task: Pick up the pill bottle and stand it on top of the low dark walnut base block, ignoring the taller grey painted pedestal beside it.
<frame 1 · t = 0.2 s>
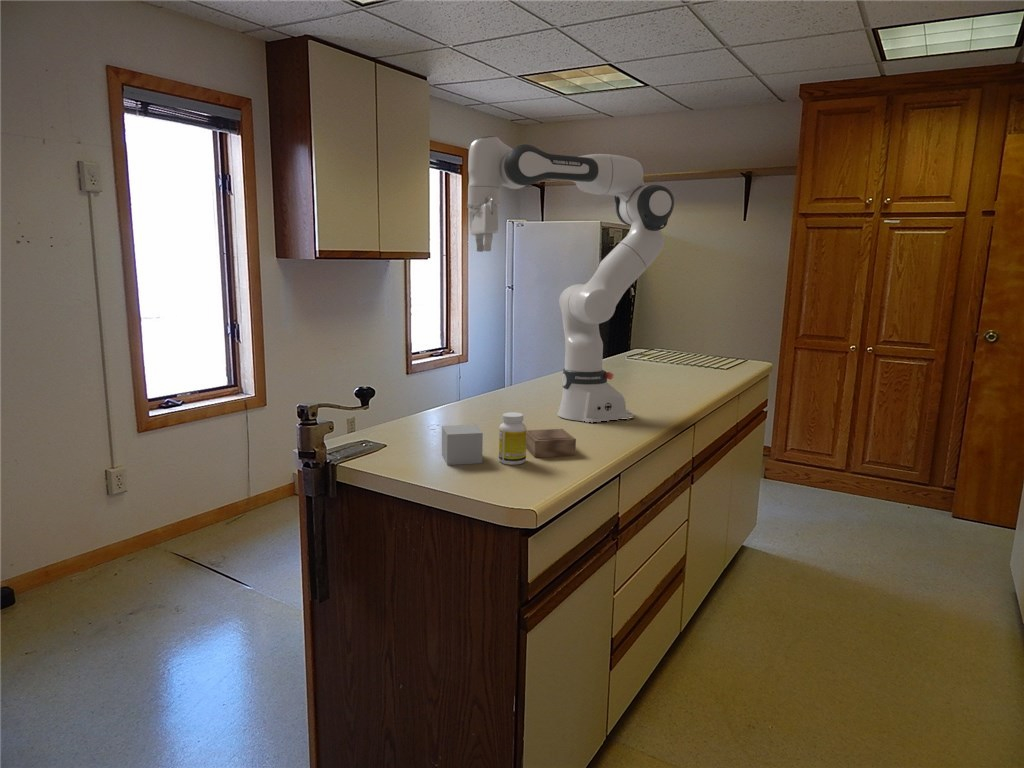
hand: (483, 251, 182), 48 cm above the counter, fingers open, 8 cm apart
walnut base: (548, 450, 160), on the counter
grey pedestal: (461, 458, 152), on the counter
pill bottle: (512, 462, 151), on the counter
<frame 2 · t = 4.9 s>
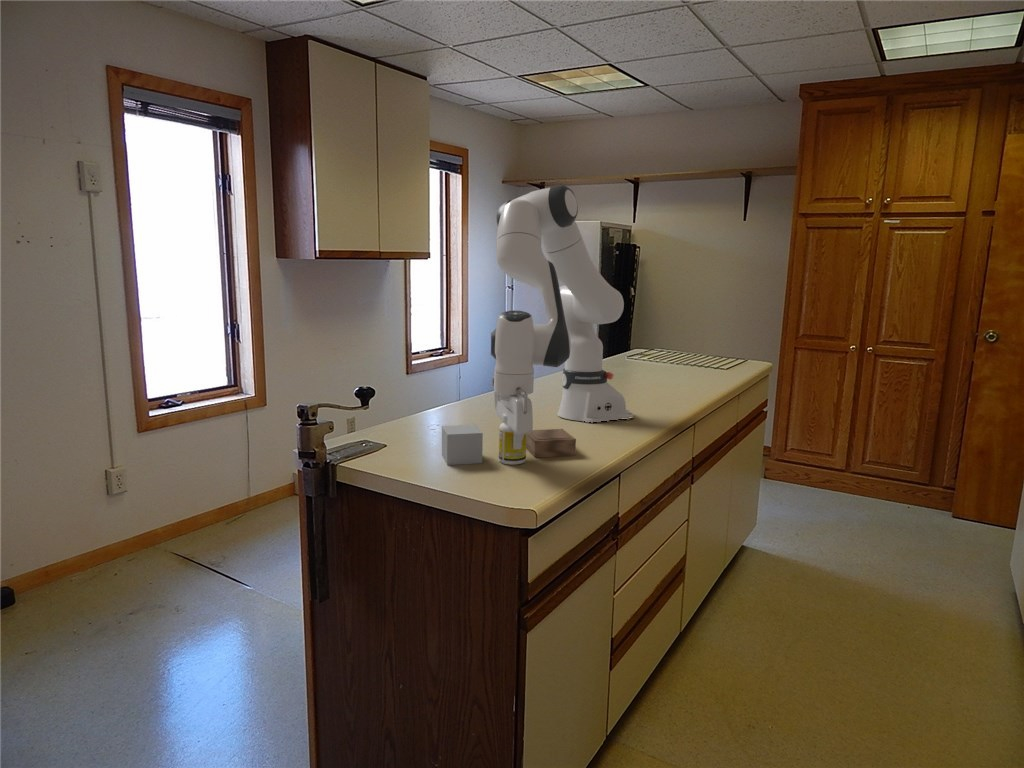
hand: (512, 444, 150), 4 cm above the counter, fingers closed on pill bottle, 6 cm apart
pill bottle: (512, 462, 151), on the counter, touching gripper
when the fingers open (9 cm above the counter, at t = 10.0 s): pill bottle stays where it is, resting on walnut base.
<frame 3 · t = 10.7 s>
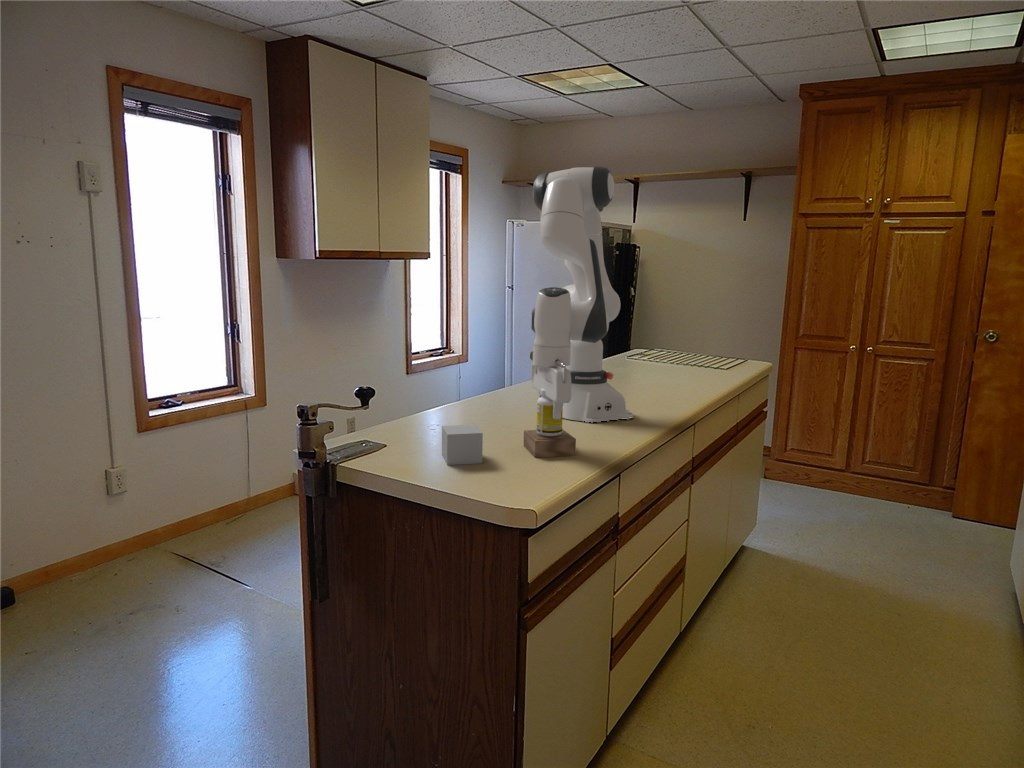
hand: (549, 414, 159), 9 cm above the counter, fingers open, 8 cm apart
pill bottle: (549, 434, 160), point 4 cm above the counter, touching walnut base
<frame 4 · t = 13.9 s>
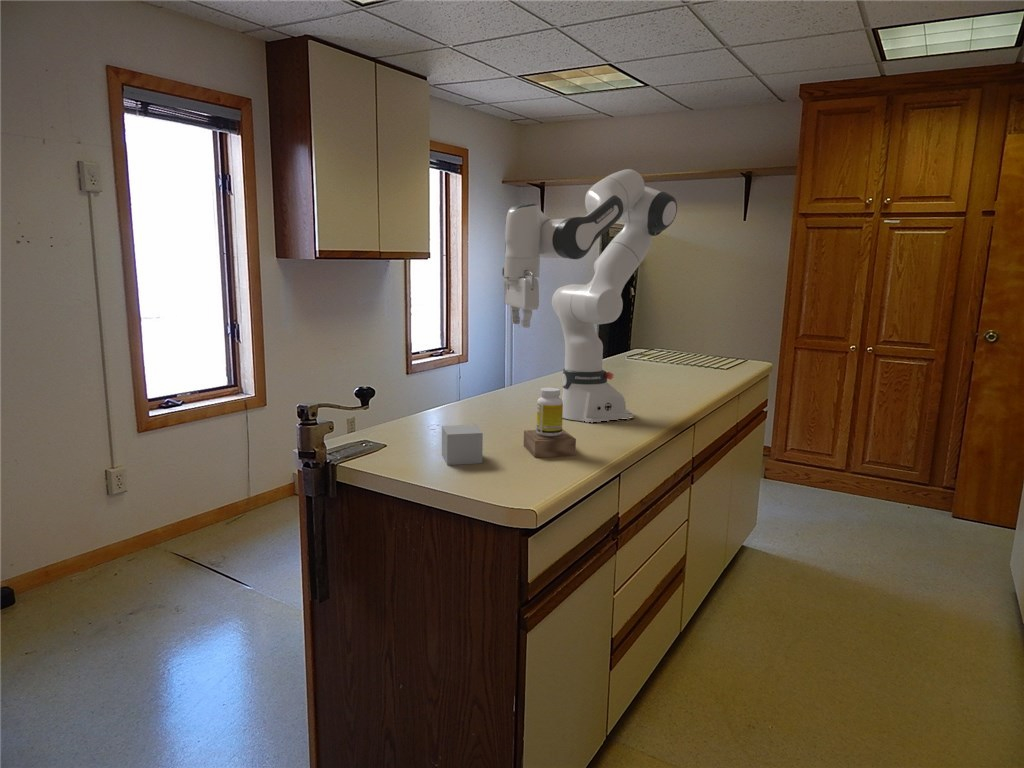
hand: (520, 325, 168), 29 cm above the counter, fingers open, 8 cm apart
nothing on the counter moved.
at the end: pill bottle inside the target area on the walnut base (0.1 cm from its centre), point 4.0 cm above the walnut base's base; pill bottle tilted 0°; the gripper is holding nothing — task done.
